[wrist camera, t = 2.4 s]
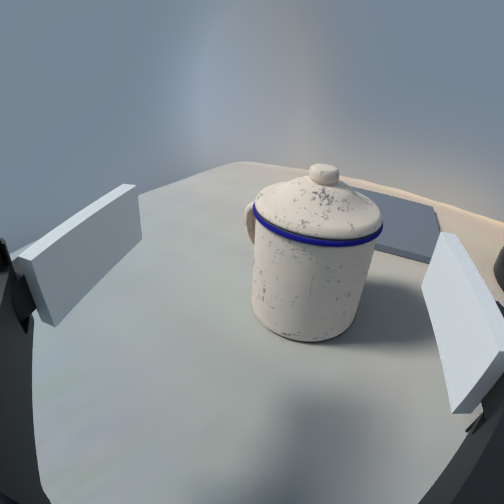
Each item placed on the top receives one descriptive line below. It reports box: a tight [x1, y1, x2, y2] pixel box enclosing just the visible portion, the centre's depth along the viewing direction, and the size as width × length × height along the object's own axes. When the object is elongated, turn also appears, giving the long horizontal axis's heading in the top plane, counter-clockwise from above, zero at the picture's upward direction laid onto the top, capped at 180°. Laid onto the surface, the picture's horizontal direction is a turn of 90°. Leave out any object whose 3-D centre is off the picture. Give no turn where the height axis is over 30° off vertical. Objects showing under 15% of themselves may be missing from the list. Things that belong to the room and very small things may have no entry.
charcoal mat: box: [350, 186, 440, 264], centre depth 42 cm, size 20×18×1 cm
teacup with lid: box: [244, 164, 383, 342], centre depth 24 cm, size 12×9×12 cm
